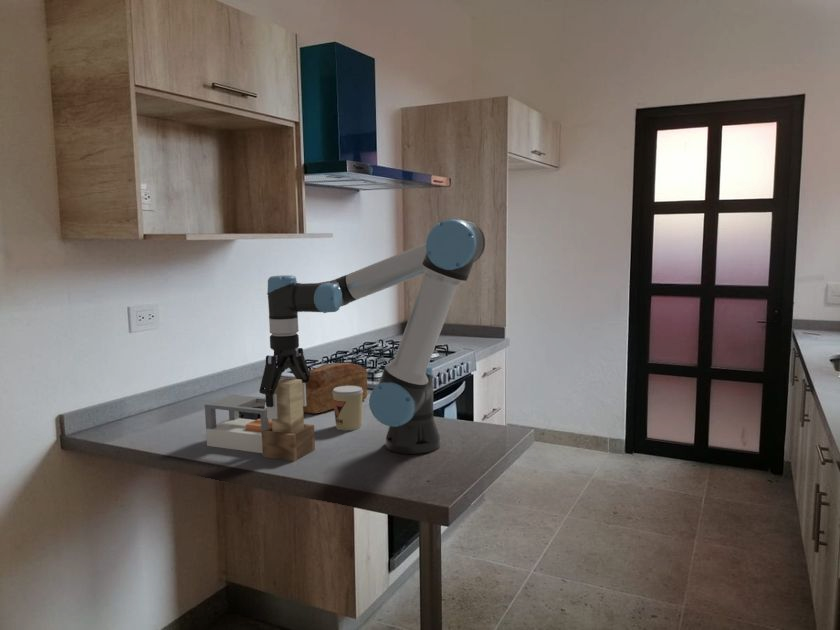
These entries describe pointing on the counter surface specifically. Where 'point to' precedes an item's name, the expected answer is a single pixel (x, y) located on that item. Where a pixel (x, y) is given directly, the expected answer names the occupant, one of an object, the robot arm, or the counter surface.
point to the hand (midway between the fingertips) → (287, 412)
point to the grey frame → (235, 424)
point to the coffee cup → (348, 407)
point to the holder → (288, 443)
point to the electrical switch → (252, 415)
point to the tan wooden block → (289, 406)
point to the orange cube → (256, 425)
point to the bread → (332, 384)
